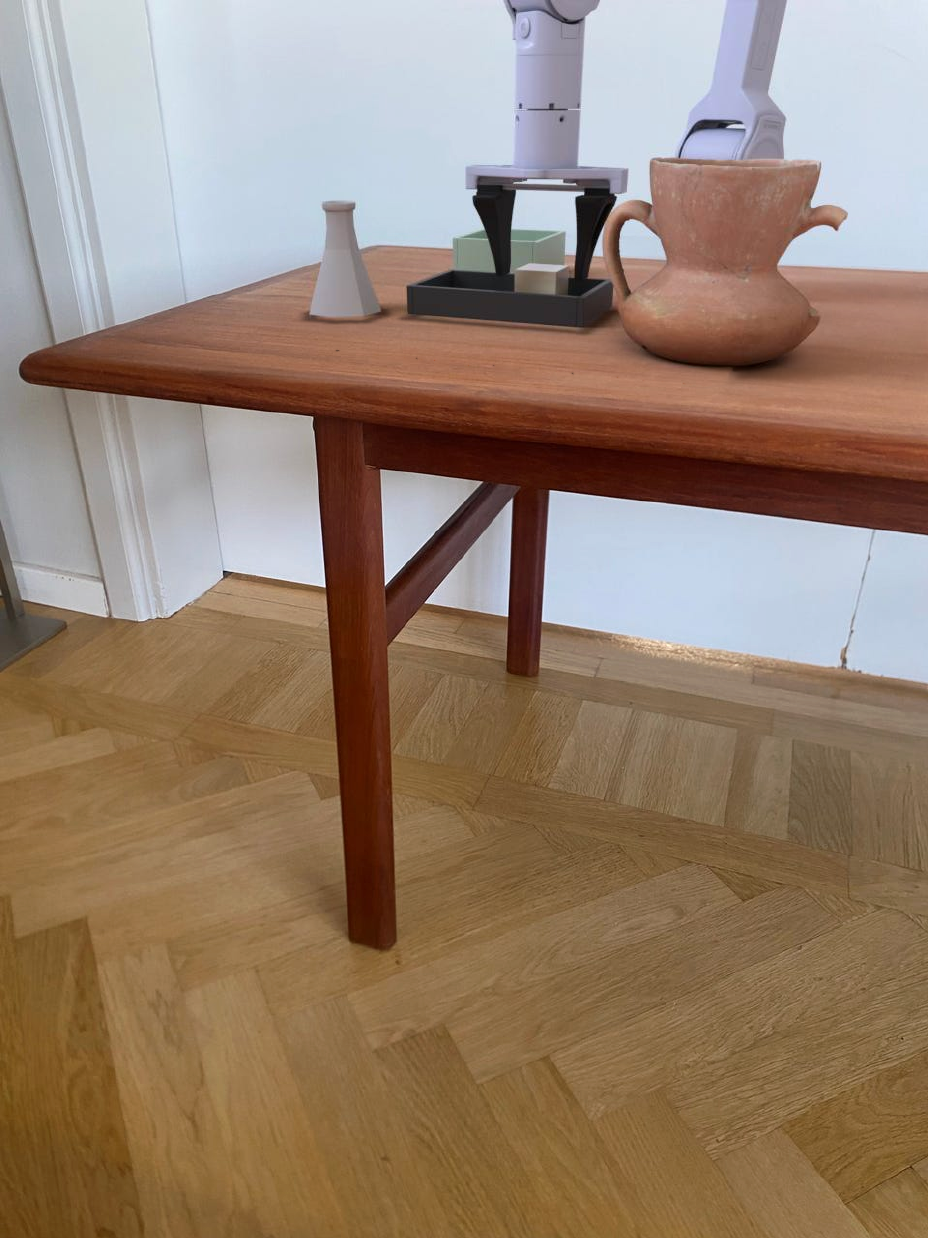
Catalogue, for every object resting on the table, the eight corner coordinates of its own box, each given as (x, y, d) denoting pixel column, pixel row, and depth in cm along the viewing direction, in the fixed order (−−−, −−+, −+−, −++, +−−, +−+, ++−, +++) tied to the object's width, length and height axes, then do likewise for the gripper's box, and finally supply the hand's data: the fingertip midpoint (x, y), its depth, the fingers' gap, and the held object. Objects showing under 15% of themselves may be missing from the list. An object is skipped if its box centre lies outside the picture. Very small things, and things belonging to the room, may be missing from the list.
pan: (611, 311, 90) (614, 279, 89) (582, 332, 82) (584, 297, 81) (449, 299, 96) (449, 269, 95) (407, 318, 88) (406, 285, 86)
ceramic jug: (835, 347, 76) (870, 155, 70) (802, 390, 65) (840, 167, 58) (626, 327, 84) (640, 151, 77) (565, 362, 73) (574, 161, 66)
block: (567, 309, 89) (569, 265, 87) (554, 317, 85) (556, 271, 84) (527, 306, 90) (528, 262, 88) (513, 314, 87) (514, 269, 85)
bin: (564, 271, 111) (565, 230, 109) (536, 285, 103) (538, 241, 101) (485, 266, 115) (485, 227, 113) (452, 279, 107) (452, 237, 104)
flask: (371, 323, 86) (365, 206, 81) (297, 320, 87) (286, 205, 82) (391, 308, 92) (387, 198, 87) (322, 306, 93) (314, 197, 88)
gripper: (451, 110, 79) (452, 278, 85) (618, 110, 74) (606, 288, 80) (482, 109, 84) (481, 267, 91) (638, 109, 80) (625, 276, 86)
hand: (541, 276), depth 86 cm, fingers open, 7 cm apart
